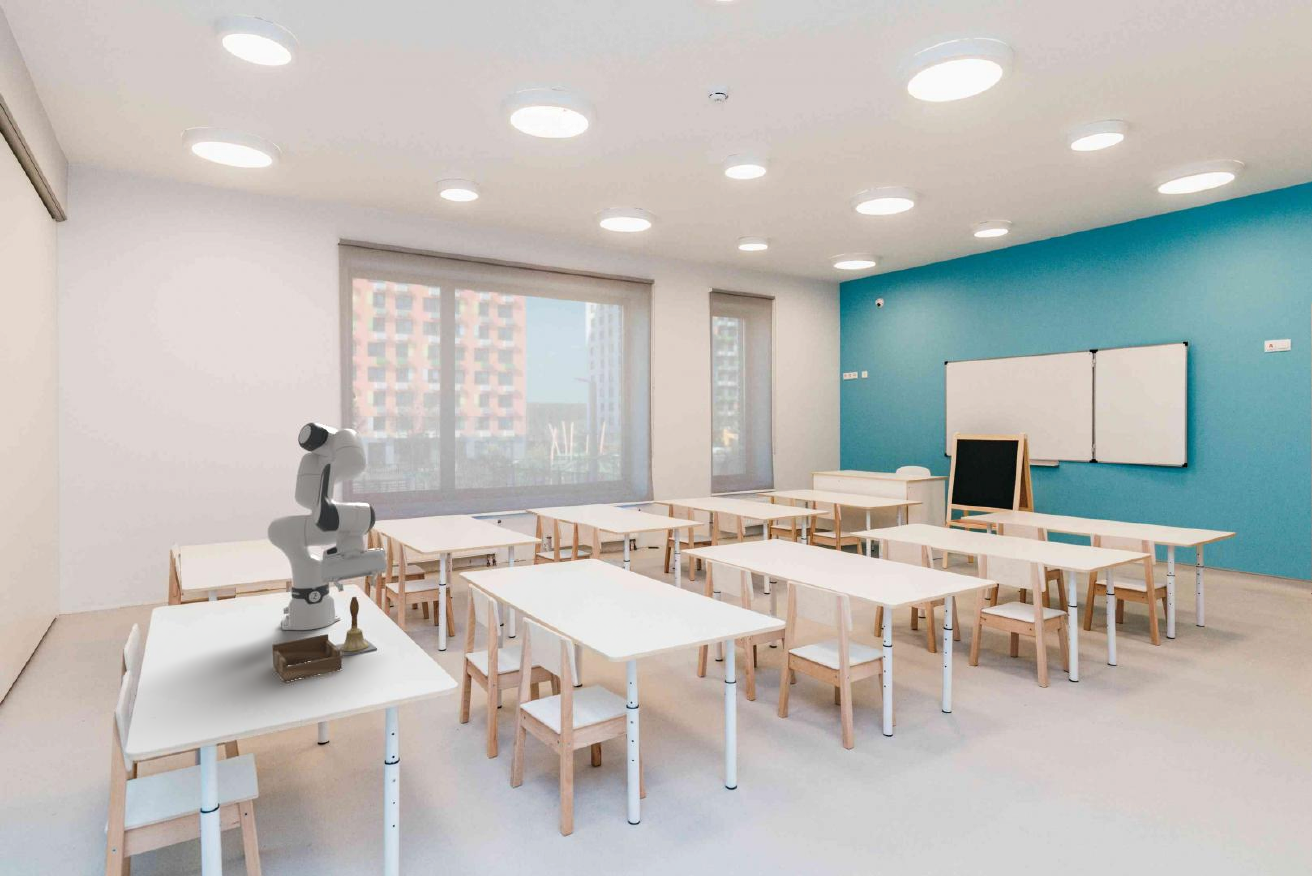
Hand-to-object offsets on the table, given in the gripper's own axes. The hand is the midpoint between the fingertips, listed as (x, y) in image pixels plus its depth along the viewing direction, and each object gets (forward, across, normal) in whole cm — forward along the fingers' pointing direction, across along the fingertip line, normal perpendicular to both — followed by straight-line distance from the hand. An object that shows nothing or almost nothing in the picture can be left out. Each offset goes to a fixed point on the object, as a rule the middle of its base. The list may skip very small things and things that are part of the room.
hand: (356, 587), depth 229 cm
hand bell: (+17, +3, -8) cm, 19 cm away
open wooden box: (+25, +16, +2) cm, 30 cm away
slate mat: (+17, +4, -8) cm, 19 cm away
